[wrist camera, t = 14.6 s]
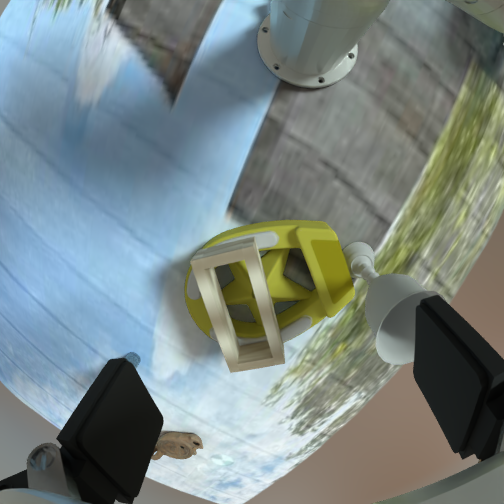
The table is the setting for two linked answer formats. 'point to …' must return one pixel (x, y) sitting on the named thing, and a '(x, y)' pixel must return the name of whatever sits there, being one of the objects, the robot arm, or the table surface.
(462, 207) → the table surface
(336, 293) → the yellow-green spoked oval frame
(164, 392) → the table surface
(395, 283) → the chalice
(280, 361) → the link
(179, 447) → the oil lamp
